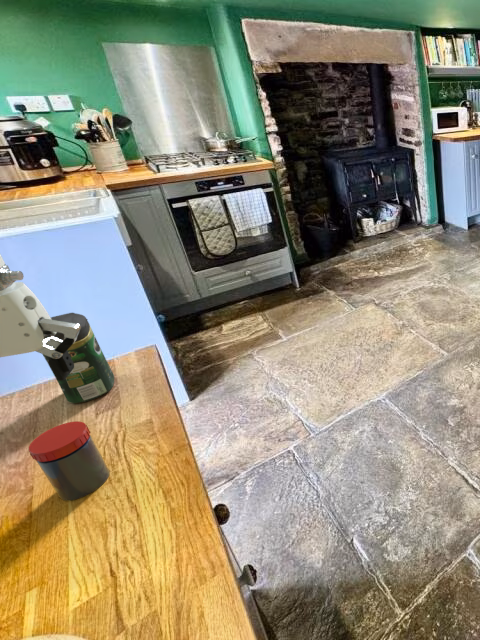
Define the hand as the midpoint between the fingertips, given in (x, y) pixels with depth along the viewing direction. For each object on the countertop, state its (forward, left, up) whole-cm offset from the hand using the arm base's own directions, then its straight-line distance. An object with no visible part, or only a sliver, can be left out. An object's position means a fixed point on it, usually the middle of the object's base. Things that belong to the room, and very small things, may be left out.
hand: (23, 382), depth 62 cm
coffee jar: (-9, +29, -23) cm, 38 cm away
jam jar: (0, 0, -23) cm, 23 cm away
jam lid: (0, 0, -12) cm, 12 cm away
